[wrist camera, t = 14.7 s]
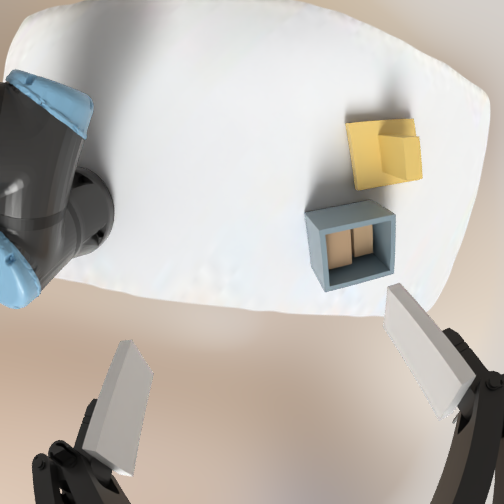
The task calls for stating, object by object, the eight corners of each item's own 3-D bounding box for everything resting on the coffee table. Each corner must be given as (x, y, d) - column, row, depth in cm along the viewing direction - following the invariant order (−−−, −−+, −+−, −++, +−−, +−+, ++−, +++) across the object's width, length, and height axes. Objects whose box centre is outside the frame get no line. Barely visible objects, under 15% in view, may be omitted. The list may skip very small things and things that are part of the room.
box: (311, 267, 47) (324, 292, 39) (304, 212, 42) (318, 230, 35) (372, 252, 46) (393, 273, 39) (371, 199, 42) (395, 214, 35)
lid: (352, 187, 41) (379, 202, 33) (342, 123, 37) (370, 123, 28) (412, 177, 41) (445, 189, 32) (406, 118, 36) (440, 120, 28)
